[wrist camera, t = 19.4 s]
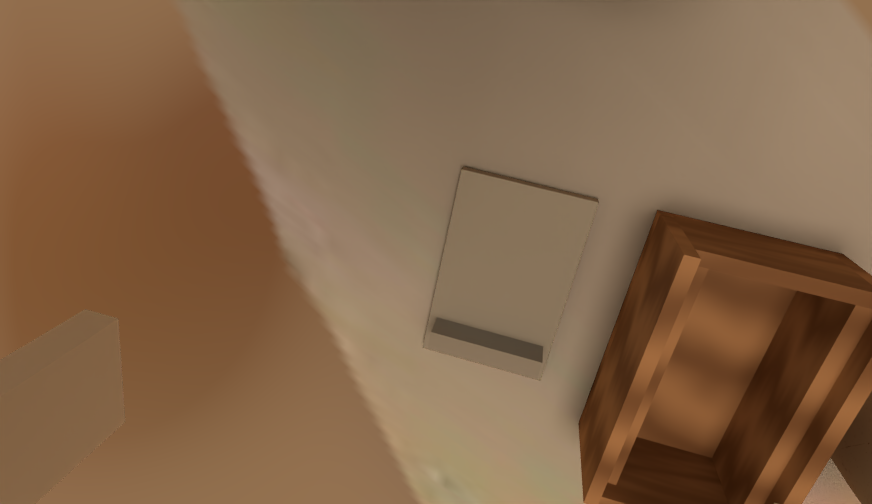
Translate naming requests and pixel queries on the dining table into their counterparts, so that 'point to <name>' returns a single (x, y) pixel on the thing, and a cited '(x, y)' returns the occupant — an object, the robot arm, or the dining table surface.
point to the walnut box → (726, 370)
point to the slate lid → (507, 271)
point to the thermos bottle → (857, 454)
